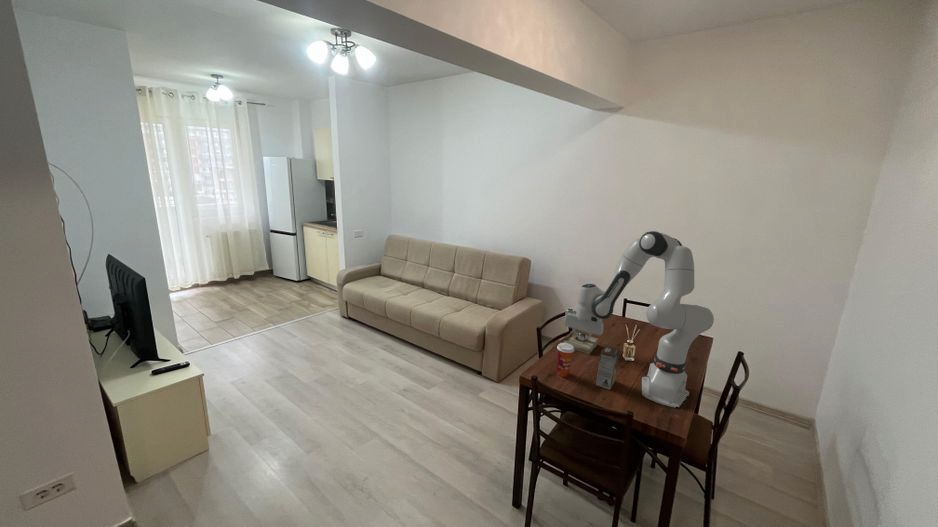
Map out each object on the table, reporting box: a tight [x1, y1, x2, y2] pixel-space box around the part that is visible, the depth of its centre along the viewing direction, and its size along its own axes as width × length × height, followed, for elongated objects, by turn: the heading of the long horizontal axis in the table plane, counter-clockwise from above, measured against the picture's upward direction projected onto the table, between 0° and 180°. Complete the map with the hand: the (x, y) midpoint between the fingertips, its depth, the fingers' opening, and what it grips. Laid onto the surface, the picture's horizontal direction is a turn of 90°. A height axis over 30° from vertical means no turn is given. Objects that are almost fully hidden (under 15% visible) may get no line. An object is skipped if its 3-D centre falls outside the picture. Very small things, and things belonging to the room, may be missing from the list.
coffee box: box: [595, 344, 621, 390], centre depth 163 cm, size 9×6×16 cm
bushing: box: [577, 331, 587, 342], centre depth 199 cm, size 4×4×7 cm
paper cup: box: [555, 342, 575, 378], centre depth 169 cm, size 8×8×14 cm
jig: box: [563, 330, 599, 355], centre depth 199 cm, size 14×14×5 cm
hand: (581, 337), depth 198 cm, fingers open, 5 cm apart
